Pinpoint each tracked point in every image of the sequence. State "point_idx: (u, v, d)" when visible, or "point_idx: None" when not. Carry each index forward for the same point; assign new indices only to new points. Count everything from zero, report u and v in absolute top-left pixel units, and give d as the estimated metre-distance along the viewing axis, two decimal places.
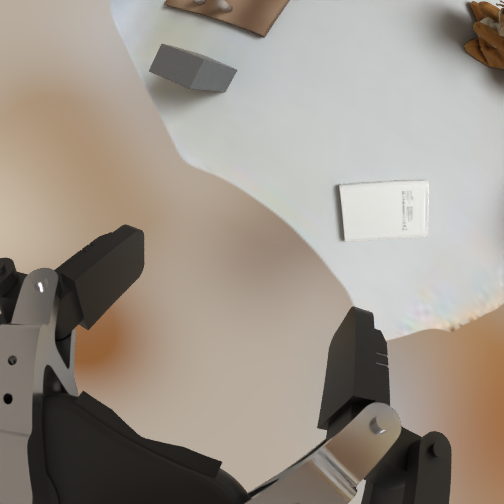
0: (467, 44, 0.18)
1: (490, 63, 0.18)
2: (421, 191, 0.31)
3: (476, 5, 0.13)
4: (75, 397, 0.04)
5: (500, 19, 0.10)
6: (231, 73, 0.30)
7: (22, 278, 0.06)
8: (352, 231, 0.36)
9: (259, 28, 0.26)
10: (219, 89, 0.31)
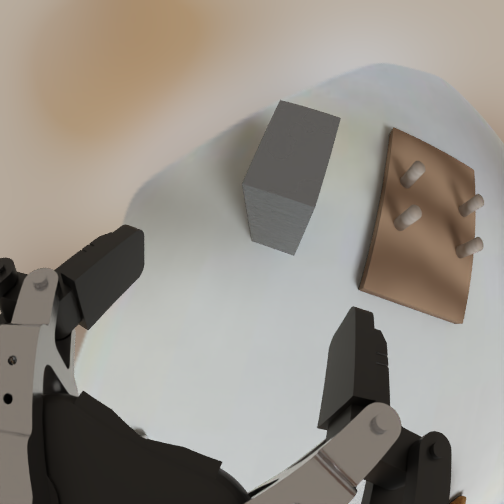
0: None
1: None
2: None
3: (462, 503, 0.13)
4: (75, 397, 0.04)
5: None
6: (286, 248, 0.21)
7: (22, 278, 0.06)
8: None
9: (374, 281, 0.20)
10: (254, 233, 0.20)
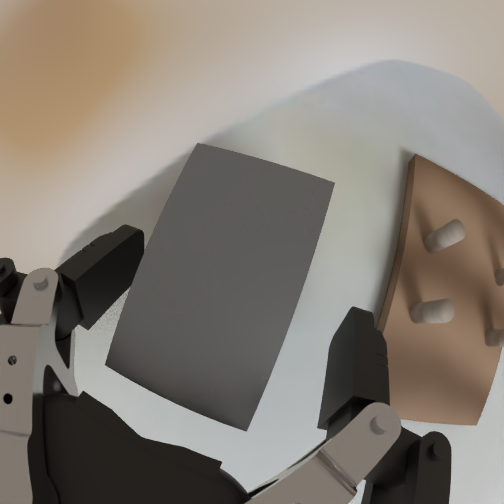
0: None
1: None
2: None
3: None
4: (75, 397, 0.04)
5: None
6: None
7: (22, 278, 0.06)
8: None
9: None
10: None
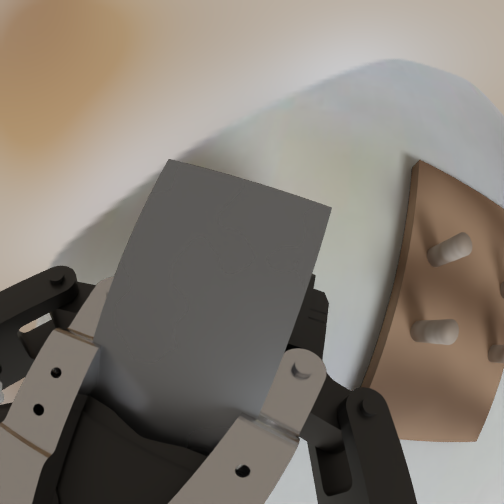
0: None
1: None
2: None
3: None
4: (116, 428, 0.04)
5: None
6: None
7: (83, 288, 0.07)
8: None
9: None
10: None
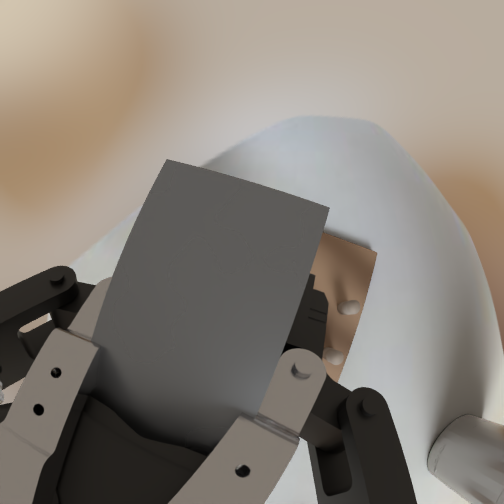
0: None
1: None
2: None
3: None
4: (116, 428, 0.04)
5: None
6: None
7: (83, 288, 0.07)
8: None
9: None
10: None
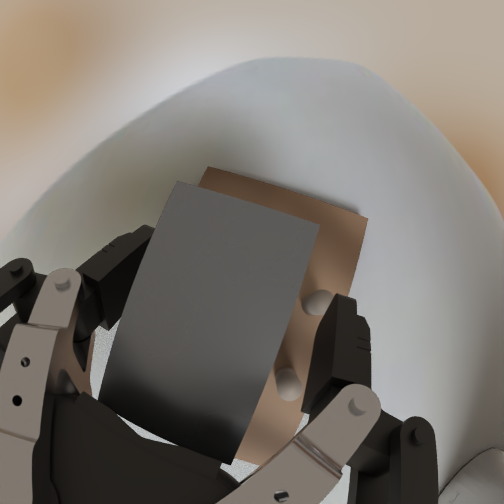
0: None
1: None
2: None
3: None
4: (88, 405, 0.04)
5: None
6: None
7: (40, 279, 0.07)
8: None
9: None
10: None
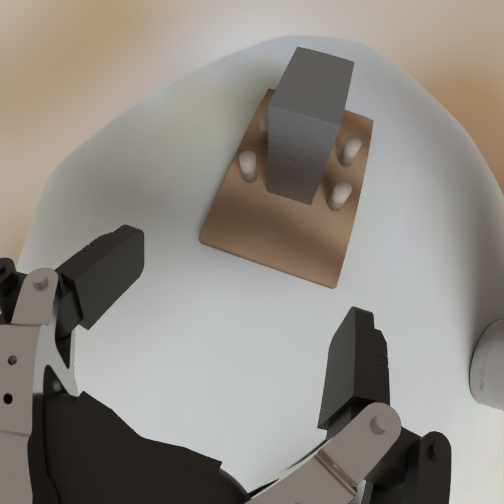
0: None
1: None
2: None
3: None
4: (75, 397, 0.04)
5: None
6: (304, 195, 0.20)
7: (22, 278, 0.06)
8: None
9: (210, 232, 0.21)
10: (271, 179, 0.20)
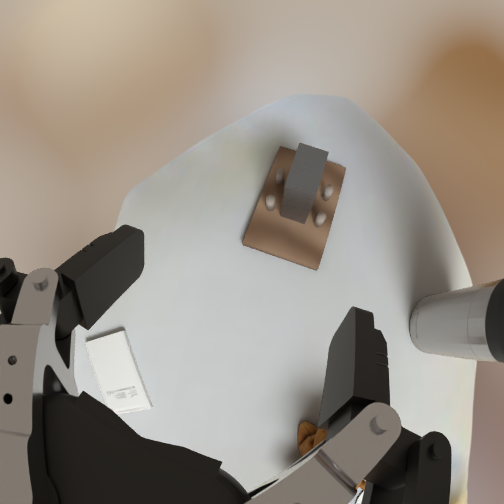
0: (307, 423, 0.32)
1: (300, 448, 0.31)
2: (140, 403, 0.34)
3: None
4: (75, 397, 0.04)
5: None
6: (300, 219, 0.38)
7: (22, 278, 0.06)
8: (92, 347, 0.36)
9: (249, 239, 0.39)
10: (283, 210, 0.37)
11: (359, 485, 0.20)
